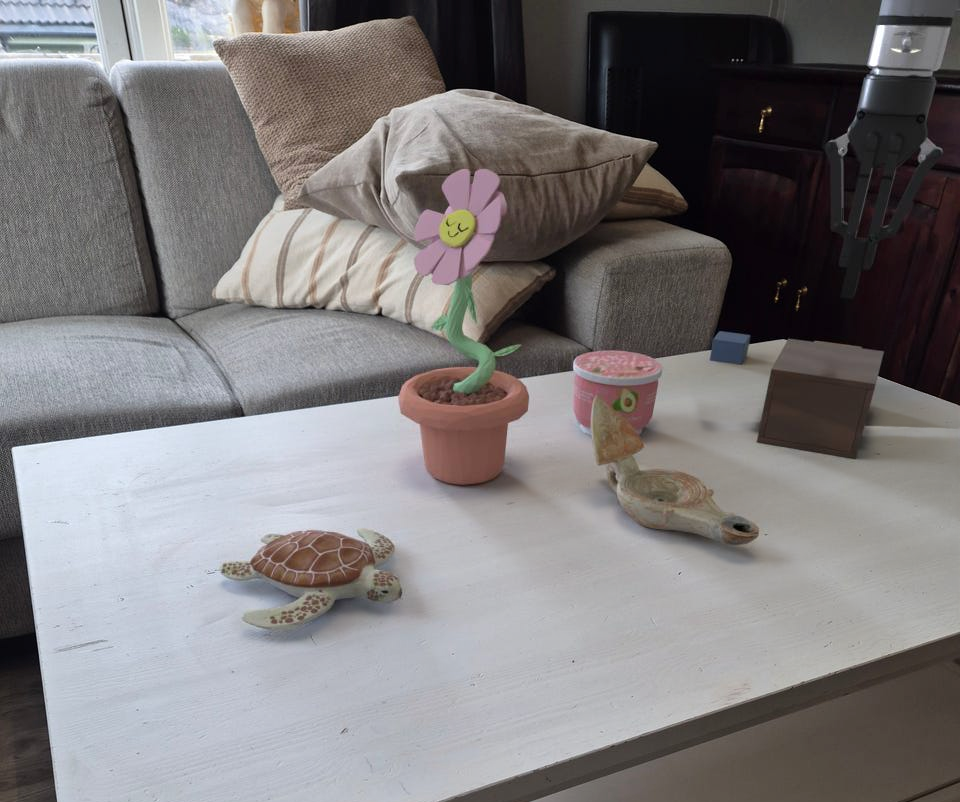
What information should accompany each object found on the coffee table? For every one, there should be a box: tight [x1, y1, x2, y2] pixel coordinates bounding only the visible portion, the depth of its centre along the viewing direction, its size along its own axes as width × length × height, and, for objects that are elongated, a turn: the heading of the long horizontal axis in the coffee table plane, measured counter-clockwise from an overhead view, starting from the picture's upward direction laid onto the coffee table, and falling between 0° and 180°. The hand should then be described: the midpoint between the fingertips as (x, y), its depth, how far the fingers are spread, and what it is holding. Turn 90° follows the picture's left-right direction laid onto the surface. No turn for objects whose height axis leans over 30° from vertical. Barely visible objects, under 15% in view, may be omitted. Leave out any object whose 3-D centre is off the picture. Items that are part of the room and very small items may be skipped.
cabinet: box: [756, 338, 885, 460], centre depth 111 cm, size 13×11×9 cm
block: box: [709, 330, 751, 366], centre depth 132 cm, size 4×4×4 cm
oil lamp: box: [590, 395, 760, 546], centre depth 90 cm, size 9×21×10 cm, turn 40°
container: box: [572, 350, 663, 436], centre depth 111 cm, size 10×10×8 cm
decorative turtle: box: [219, 527, 403, 631], centre depth 79 cm, size 18×17×5 cm
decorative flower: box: [397, 168, 530, 486], centre depth 93 cm, size 15×14×30 cm
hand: (847, 295), depth 114 cm, fingers closed
